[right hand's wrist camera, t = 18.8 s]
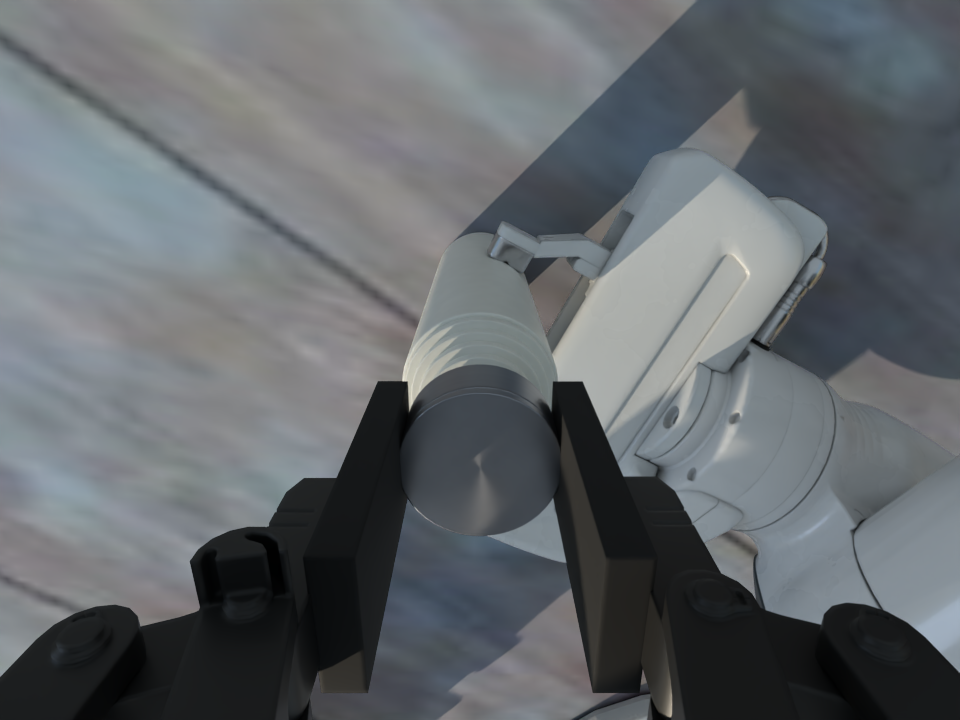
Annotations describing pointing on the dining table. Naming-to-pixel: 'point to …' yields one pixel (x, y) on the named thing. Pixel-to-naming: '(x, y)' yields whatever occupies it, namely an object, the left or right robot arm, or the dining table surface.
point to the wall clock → (623, 710)
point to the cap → (480, 451)
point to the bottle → (479, 321)
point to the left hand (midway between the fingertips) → (462, 297)
